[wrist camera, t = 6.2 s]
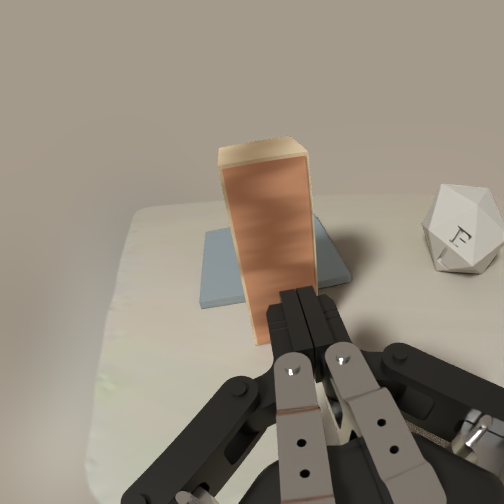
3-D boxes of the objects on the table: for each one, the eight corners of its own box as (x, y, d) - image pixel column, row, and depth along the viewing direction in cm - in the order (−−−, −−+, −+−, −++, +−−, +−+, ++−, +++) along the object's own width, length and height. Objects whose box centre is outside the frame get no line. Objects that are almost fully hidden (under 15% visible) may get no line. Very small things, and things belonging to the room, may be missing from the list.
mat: (314, 218, 41) (313, 213, 40) (351, 281, 29) (351, 274, 28) (207, 237, 41) (205, 231, 40) (201, 308, 29) (199, 302, 28)
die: (402, 254, 32) (412, 211, 23) (443, 199, 32) (460, 146, 23) (459, 303, 28) (491, 276, 19) (497, 242, 28) (530, 200, 19)
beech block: (305, 294, 28) (290, 136, 21) (319, 334, 24) (308, 151, 17) (250, 304, 28) (218, 147, 21) (255, 346, 24) (217, 166, 17)
